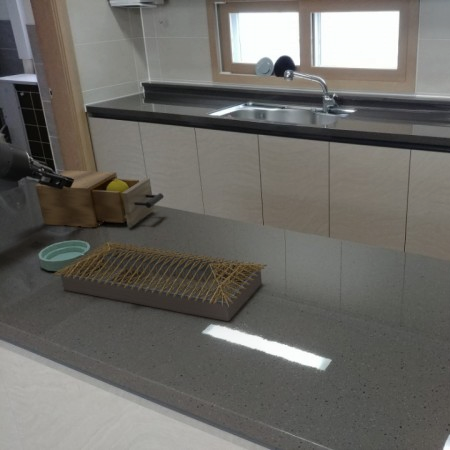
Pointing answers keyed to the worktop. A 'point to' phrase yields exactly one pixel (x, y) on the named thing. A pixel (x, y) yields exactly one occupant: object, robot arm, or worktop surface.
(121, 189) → the lemon
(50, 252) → the bowl
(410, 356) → the worktop surface
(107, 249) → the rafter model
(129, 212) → the drawer
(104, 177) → the cabinet
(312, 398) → the worktop surface
